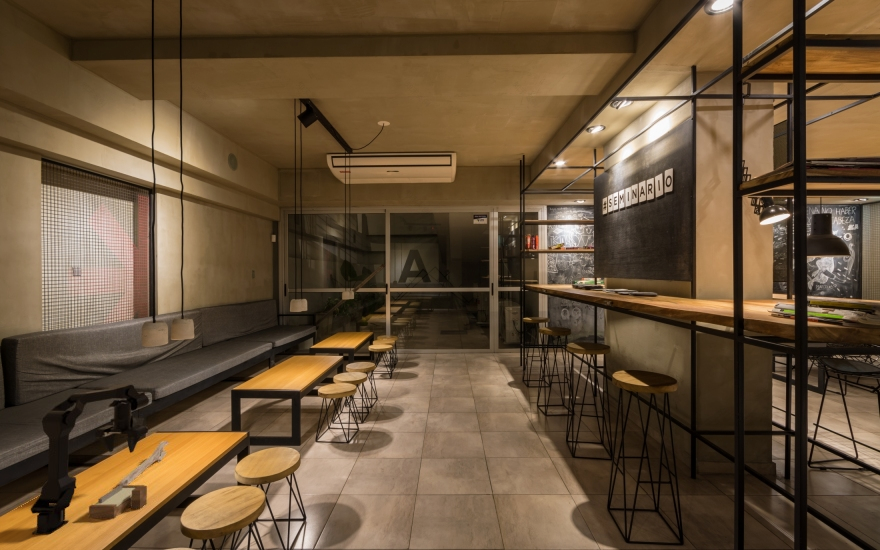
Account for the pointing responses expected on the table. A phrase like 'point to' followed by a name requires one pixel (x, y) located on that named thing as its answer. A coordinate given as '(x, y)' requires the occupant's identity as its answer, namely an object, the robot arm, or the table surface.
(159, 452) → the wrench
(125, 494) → the cream cabinet door
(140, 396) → the robot arm
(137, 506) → the brown rectangular block
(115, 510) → the wooden tray
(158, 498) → the table surface
